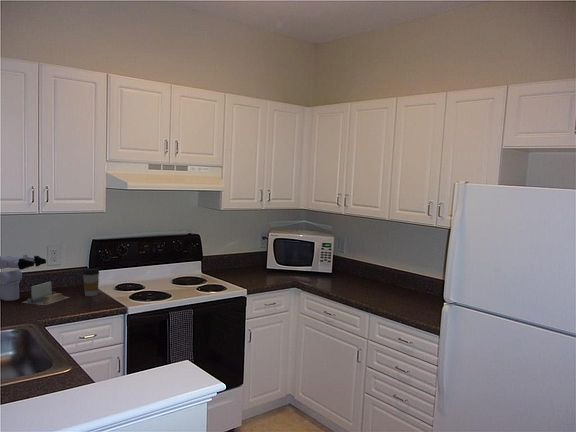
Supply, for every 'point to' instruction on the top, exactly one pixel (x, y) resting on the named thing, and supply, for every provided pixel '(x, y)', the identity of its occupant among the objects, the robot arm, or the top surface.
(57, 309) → the top surface
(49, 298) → the offcut upper
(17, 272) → the robot arm
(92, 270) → the coffee cup
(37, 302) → the rack
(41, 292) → the sheet
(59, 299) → the offcut lower
